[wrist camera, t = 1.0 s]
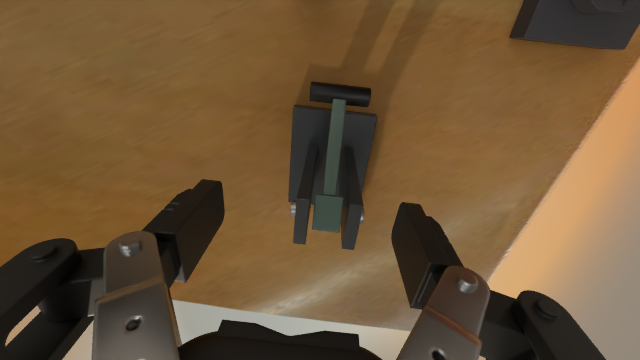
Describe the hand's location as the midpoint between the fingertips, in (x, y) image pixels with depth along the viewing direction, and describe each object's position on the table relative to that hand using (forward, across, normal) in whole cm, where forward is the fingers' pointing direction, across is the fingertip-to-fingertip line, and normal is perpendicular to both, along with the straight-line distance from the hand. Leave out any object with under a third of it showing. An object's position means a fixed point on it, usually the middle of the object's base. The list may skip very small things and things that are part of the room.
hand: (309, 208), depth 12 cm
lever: (+12, -1, +2) cm, 12 cm away
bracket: (+19, -1, +6) cm, 20 cm away
